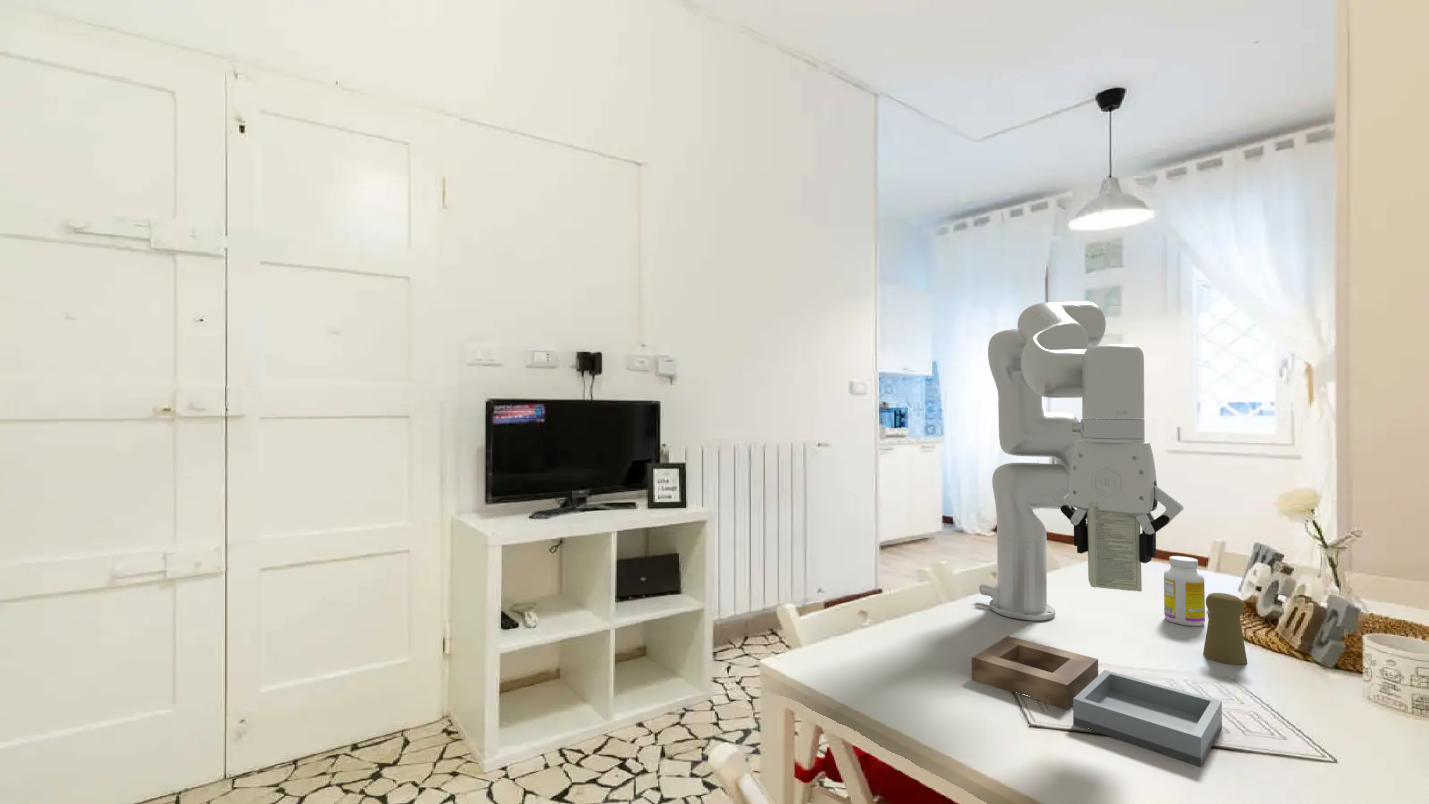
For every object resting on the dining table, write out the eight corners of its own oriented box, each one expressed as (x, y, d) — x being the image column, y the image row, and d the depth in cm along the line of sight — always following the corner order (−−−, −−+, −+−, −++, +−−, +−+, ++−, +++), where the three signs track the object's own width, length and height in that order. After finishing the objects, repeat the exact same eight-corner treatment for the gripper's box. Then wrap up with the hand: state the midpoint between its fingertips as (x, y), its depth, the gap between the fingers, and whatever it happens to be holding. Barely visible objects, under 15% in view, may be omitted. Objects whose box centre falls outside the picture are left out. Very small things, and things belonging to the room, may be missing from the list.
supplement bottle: (1209, 622, 128) (1208, 559, 128) (1199, 629, 124) (1199, 564, 124) (1170, 614, 133) (1169, 553, 134) (1159, 620, 129) (1159, 557, 129)
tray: (1073, 724, 86) (1073, 698, 86) (1104, 693, 96) (1104, 670, 96) (1201, 766, 76) (1200, 737, 76) (1221, 727, 86) (1221, 701, 86)
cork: (1255, 666, 106) (1255, 600, 106) (1215, 663, 107) (1214, 598, 108) (1234, 653, 112) (1233, 590, 112) (1195, 650, 113) (1195, 588, 114)
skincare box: (1137, 585, 91) (1136, 500, 91) (1142, 593, 87) (1141, 504, 87) (1086, 580, 93) (1085, 497, 94) (1089, 587, 89) (1088, 501, 90)
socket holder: (971, 679, 101) (971, 657, 101) (1007, 655, 110) (1007, 635, 110) (1067, 709, 91) (1067, 685, 91) (1098, 681, 100) (1098, 659, 100)
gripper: (1038, 430, 94) (1038, 550, 94) (1180, 434, 81) (1181, 572, 81) (1057, 430, 99) (1057, 543, 99) (1193, 433, 86) (1195, 563, 86)
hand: (1113, 555), depth 90 cm, fingers closed on skincare box, 7 cm apart
